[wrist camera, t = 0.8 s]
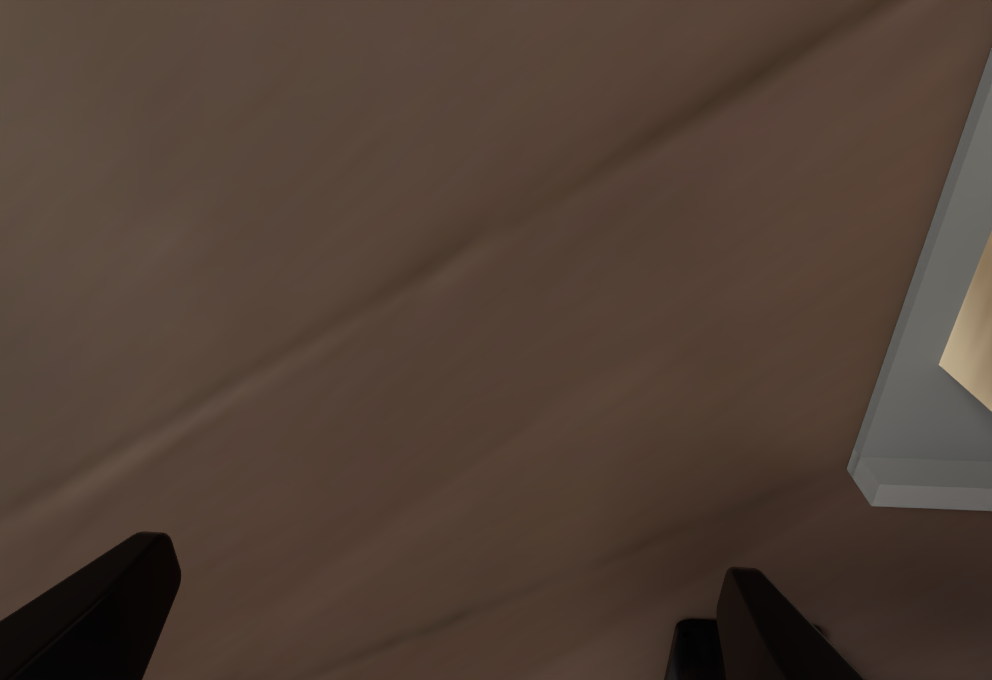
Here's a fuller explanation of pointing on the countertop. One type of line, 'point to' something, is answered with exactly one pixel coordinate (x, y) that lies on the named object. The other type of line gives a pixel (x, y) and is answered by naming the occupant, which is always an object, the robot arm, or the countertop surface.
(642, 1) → the countertop surface
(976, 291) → the wooden block
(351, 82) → the countertop surface
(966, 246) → the mat
